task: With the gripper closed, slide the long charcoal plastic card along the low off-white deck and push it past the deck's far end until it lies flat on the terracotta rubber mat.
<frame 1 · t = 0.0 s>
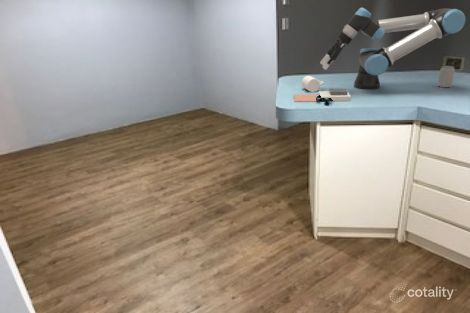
hand: (322, 66, 215), 15 cm above the countertop, tool tilted 35°, fingers open, 13 cm apart
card: (338, 93, 207), point 2 cm above the countertop, touching deck
can: (444, 87, 222), on the countertop
mat: (306, 98, 210), on the countertop
deck: (334, 98, 208), on the countertop
mug: (313, 90, 227), on the countertop
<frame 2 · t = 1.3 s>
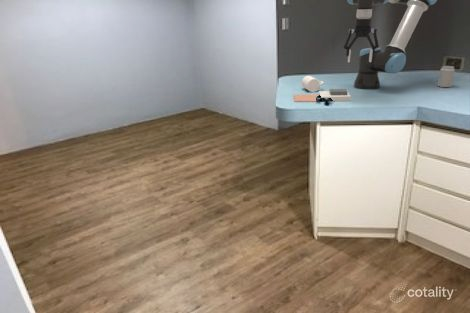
hand: (359, 61, 198), 20 cm above the countertop, tool pointing down, fingers open, 10 cm apart
nothing on the countertop moved.
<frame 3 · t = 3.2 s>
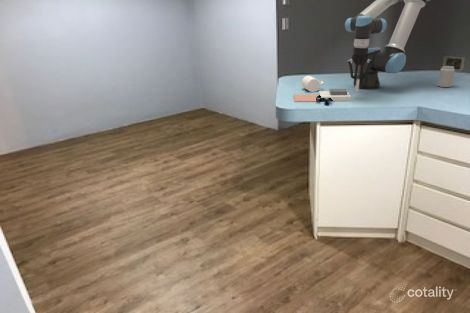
hand: (356, 90, 205), 4 cm above the countertop, tool pointing down, fingers closed
nothing on the countertop moved.
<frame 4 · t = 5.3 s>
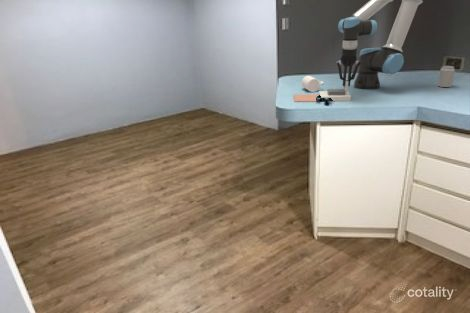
hand: (345, 92, 206), 4 cm above the countertop, tool pointing down, fingers closed
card: (335, 93, 207), point 3 cm above the countertop
everything else where it was.
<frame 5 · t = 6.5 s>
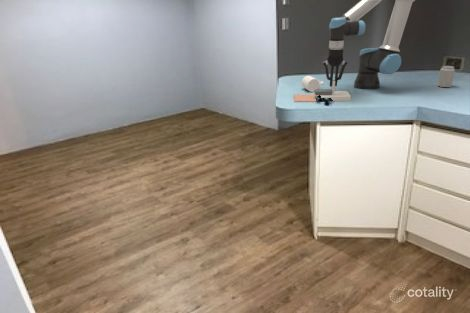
hand: (332, 92, 206), 4 cm above the countertop, tool pointing down, fingers closed
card: (323, 93, 208), point 3 cm above the countertop, touching deck
everything else where it was.
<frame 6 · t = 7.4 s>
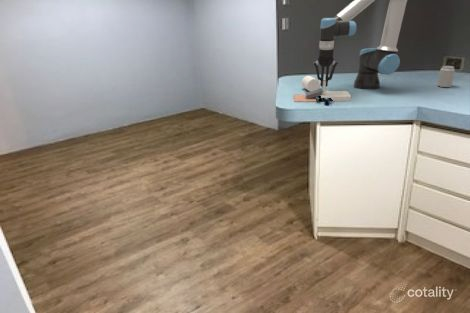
hand: (323, 92, 207), 4 cm above the countertop, tool pointing down, fingers closed
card: (314, 95, 209), point 2 cm above the countertop, tilted 16°, touching deck, gripper, mat
everything else where it was.
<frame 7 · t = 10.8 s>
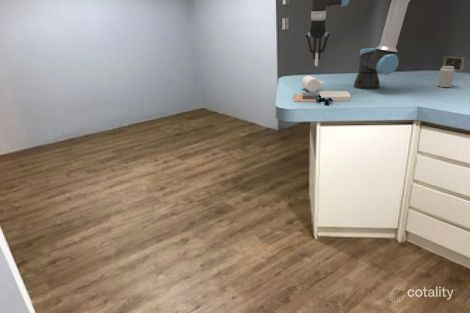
hand: (316, 65, 202), 18 cm above the countertop, tool pointing down, fingers closed
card: (310, 97, 209), resting on mat
everything else where it was.
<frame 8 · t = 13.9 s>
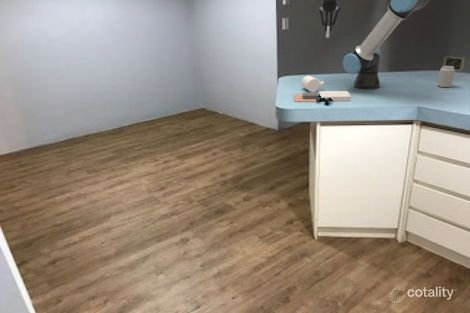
hand: (327, 37, 225), 29 cm above the countertop, tool pointing down, fingers closed
nothing on the countertop moved.
at the end: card inside the target area (3.0 cm from its centre), resting on mat; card touching mat; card tilted 0° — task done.
